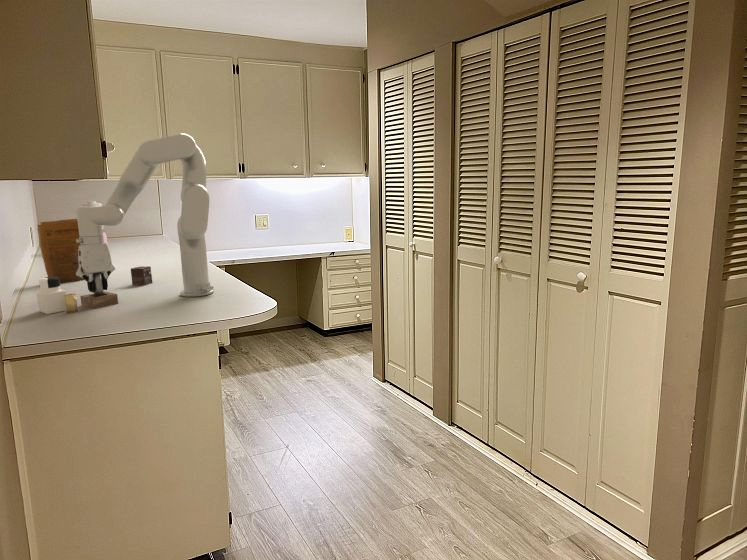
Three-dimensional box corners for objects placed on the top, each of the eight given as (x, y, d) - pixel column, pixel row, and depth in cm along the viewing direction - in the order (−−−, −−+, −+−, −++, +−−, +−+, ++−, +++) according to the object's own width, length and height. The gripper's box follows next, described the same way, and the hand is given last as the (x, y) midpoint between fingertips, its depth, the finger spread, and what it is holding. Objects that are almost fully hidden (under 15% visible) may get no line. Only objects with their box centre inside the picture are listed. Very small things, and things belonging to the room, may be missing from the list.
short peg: (79, 311, 190) (77, 294, 189) (69, 313, 188) (67, 296, 187) (75, 310, 192) (72, 293, 191) (64, 312, 190) (62, 295, 189)
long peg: (107, 303, 200) (102, 271, 198) (97, 305, 198) (93, 273, 196) (102, 302, 203) (98, 270, 200) (93, 304, 200) (88, 272, 198)
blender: (92, 251, 354) (85, 201, 348) (111, 250, 355) (105, 200, 349) (81, 254, 338) (74, 202, 332) (102, 253, 339) (95, 201, 333)
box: (144, 285, 233) (142, 268, 232) (131, 285, 235) (130, 268, 233) (152, 282, 239) (151, 266, 238) (140, 282, 240) (138, 266, 239)
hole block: (118, 303, 201) (117, 293, 200) (93, 308, 194) (92, 298, 193) (105, 300, 206) (104, 291, 206) (81, 305, 199) (80, 296, 199)
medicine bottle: (60, 307, 197) (55, 274, 195) (68, 310, 192) (64, 276, 190) (38, 311, 192) (33, 278, 189) (46, 314, 187) (41, 280, 185)
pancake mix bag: (93, 279, 251) (85, 218, 245) (45, 285, 240) (36, 221, 234) (90, 277, 256) (82, 217, 251) (43, 283, 245) (34, 220, 240)
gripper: (73, 244, 187) (80, 296, 190) (119, 238, 200) (125, 287, 203) (62, 243, 191) (70, 294, 195) (109, 237, 204) (115, 285, 208)
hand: (98, 290), depth 199 cm, fingers open, 3 cm apart
